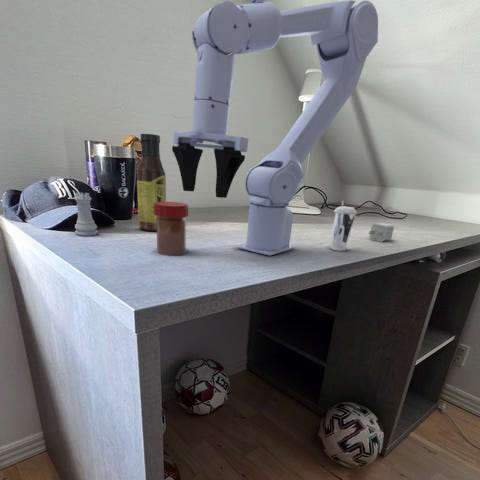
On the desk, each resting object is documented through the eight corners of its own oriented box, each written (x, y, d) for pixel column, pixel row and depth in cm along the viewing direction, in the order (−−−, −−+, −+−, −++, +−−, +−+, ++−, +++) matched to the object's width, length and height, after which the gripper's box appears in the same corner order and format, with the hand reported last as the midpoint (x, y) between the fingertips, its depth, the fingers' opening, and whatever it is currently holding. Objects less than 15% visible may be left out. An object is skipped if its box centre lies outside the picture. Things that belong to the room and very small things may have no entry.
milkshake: (343, 246, 79) (353, 201, 75) (351, 252, 75) (361, 204, 70) (324, 245, 79) (332, 199, 75) (330, 250, 74) (339, 202, 70)
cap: (194, 216, 62) (195, 205, 61) (170, 218, 57) (170, 206, 57) (172, 211, 65) (171, 201, 64) (147, 213, 60) (146, 202, 60)
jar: (169, 246, 67) (169, 206, 64) (191, 251, 65) (191, 209, 62) (151, 251, 63) (149, 208, 60) (173, 256, 61) (173, 212, 58)
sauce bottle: (163, 232, 79) (161, 134, 70) (135, 230, 78) (130, 131, 70) (169, 227, 84) (167, 136, 76) (143, 225, 84) (139, 134, 76)
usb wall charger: (390, 240, 91) (394, 225, 89) (378, 242, 87) (382, 226, 85) (376, 237, 94) (380, 222, 92) (363, 239, 89) (367, 223, 88)
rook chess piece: (76, 231, 73) (71, 191, 70) (99, 231, 74) (95, 192, 71) (73, 236, 69) (68, 194, 66) (97, 236, 71) (93, 195, 67)
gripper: (161, 97, 55) (158, 187, 61) (232, 97, 48) (222, 199, 53) (192, 107, 61) (186, 189, 66) (260, 109, 53) (248, 200, 59)
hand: (204, 194), depth 60 cm, fingers open, 7 cm apart
